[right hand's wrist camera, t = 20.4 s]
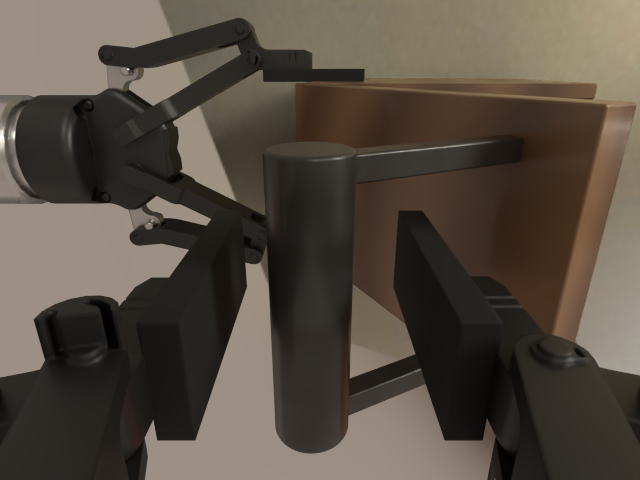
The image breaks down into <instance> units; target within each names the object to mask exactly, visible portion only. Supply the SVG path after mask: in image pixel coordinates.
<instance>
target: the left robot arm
mask: <svg viewBox="0 0 640 480" xmlns="http://www.w3.org/2000/svg"><path fill="white" fill-rule="evenodd" d="M234 45H238V47H239V50H240V52H241V55H239V56H238V57H236V58H234V59H233V60H231V61H229V62H228V63H226V64H224V65H223V66H221V67H219V68H218V69H216V70H214V71H213V72H211V73H209V74H208V75H206V76H204V77H203V78H201V79H199V80H198V81H196V82H194V83H193V84H191V85H189V86H188V87H186V88H184V89H183V90H181V91H179V92H178V93H176V94H174V95H173V96H171V97H169V98H167V99H165V100H163V101H161V102H159V103H158V104H156V105H154V106H152V105H151V104H149V103H148V102H146V101H145V100H143V99H142V98H140V97H139V96H137V95H136V94H135V93H133V92H132V91H130V90H129V85H130V83H131V82H132V81H134V80H138V79H140V78H141V77H142V76H143V72H144V70H143V68H154V67H159V66H163V65H167V64H170V63H174V62H177V61H181V60H184V59H188V58H191V57H195V56H198V55H202V54H205V53H209V52H213V51H216V50H220V49H223V48H227V47H230V46H234ZM98 56H99V59H100V60H101V62H102V63H104V64H105V65H107V76H108V89H107V90H105V91H103V92H102V93H100V94H98V95H40V96H36V97H31V96H28V95H0V203H18V204H20V203H21V204H42V203H46V202H50V203H113V204H116V205H119V206H121V207H123V208H125V209H129V212H130V216H131V220H132V223H133V227H134V231H133V232H132V233H131V234H130V240H131V242H132V243H133V244H135V245H139V246H140V245H151V244H161V243H162V244H166V245H171V246H175V247H180V248H184V249H188V250H189V249H190V248H191V247H192V245H193V244H194V243H195V241H196V240H197V238H198V237H199V236H200V234H201V233H202V232H203V230H204V229H205V227H206V226H205V225H200V224H196V223H191V222H188V221H183V220H178V219H171V218H163V215H162V214H161V213H158V212H153V211H151V210H149V209H148V208H147V205H146V204H147V203H148V202H149V201H150V200H152V199H153V198H154V197H156V196H158V197H160V198H162V199H165V200H167V201H169V202H171V203H173V204H181V205H183V206H185V207H188V208H190V209H192V210H194V211H196V212H198V213H200V214H202V215H204V216H206V217H208V218H210V219H212V218H213V216H214V215H215V214H216V212H217V211H218V210H242V224H243V234H244V235H243V239H244V253H245V262H246V263H250V264H258V263H259V262H260V261H261V259H262V256H263V254H264V251H265V248H266V245H267V234H266V216H264V215H262V214H260V213H258V212H256V211H254V210H252V209H250V208H248V207H246V206H244V205H242V204H240V203H238V202H236V201H234V200H232V199H230V198H228V197H226V196H224V195H222V194H220V193H218V192H216V191H214V190H211V189H209V188H207V187H205V186H203V185H201V184H199V183H197V182H196V181H195V180H194V179H193V178H192V177H190V176H188V175H186V174H184V173H182V172H180V170H182V162H181V157H180V155H179V152H178V149H177V145H178V138H179V136H178V128H177V127H175V126H174V124H173V121H174V120H176V119H178V118H179V117H181V116H183V115H185V114H186V113H187V112H189V111H191V110H192V109H194V108H196V107H197V106H199V105H201V104H202V103H204V102H206V101H208V100H209V99H211V98H213V97H214V96H216V95H218V94H219V93H221V92H223V91H225V90H226V89H228V88H230V87H231V86H233V85H235V84H236V83H238V82H240V81H242V80H243V79H245V78H247V77H248V76H250V75H252V74H253V73H255V72H257V71H259V70H263V80H264V82H310V81H364V70H365V69H312V53H310V52H308V51H306V50H266V49H264V48H262V47H261V45H260V44H259V41H258V39H257V36H256V34H255V29H254V27H253V25H252V24H250V23H249V22H248V21H246V20H245V19H242V18H236V19H233V20H229V21H226V22H222V23H219V24H215V25H212V26H208V27H205V28H201V29H198V30H195V31H191V32H188V33H184V34H181V35H177V36H174V37H170V38H167V39H163V40H160V41H156V42H153V43H150V44H146V45H143V46H139V47H136V48H129V47H119V46H110V45H104V46H102V47H100V49H99V51H98Z"/></svg>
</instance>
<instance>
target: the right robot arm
mask: <svg viewBox="0 0 640 480" xmlns="http://www.w3.org/2000/svg"><path fill="white" fill-rule="evenodd" d="M246 288H247V282H246V267H245V253H244V239H243V224H242V210H218V211H217V212H216V214H215V215H214V216H213V218H212V219H211V221H210V222H209V223H208V225H207V226H206V227H205V229H204V230H203V232H202V233H201V234H200V236H199V237H198V238H197V240H196V241H195V243H194V244H193V245H192V247H191V248H190V249H189V251H188V252H187V254H186V255H185V256H184V258H183V259H182V261H181V262H180V263H179V265H178V266H177V267H176V269H175V270H174V272H173V273H172V274H171V276H170V277H169V278H150V279H148V280H147V281H145V282H143V283H142V284H140V285H138V286H136V287H135V288H134V290H133V291H132V292H131V293H130V294H129V295H128V297H127V298H126V300H124V301H123V302H122V304H121V305H120V306H118V302H116V301H115V300H114V299H112V298H110V297H105V296H84V297H78V298H73V299H69V300H66V301H63V302H60V303H58V304H55V305H53V306H51V307H49V308H47V309H46V310H44V311H42V312H41V313H40V314H39V315H38V316H37V317H36V318H35V319H34V322H35V326H36V329H37V333H38V336H39V340H40V343H41V347H42V351H43V354H44V358H45V362H44V364H43V366H42V367H41V369H40V370H36V371H32V372H27V373H22V374H17V375H12V376H7V377H1V378H0V480H145V473H146V465H147V458H148V456H147V448H146V443H145V436H146V433H147V431H148V429H149V427H150V425H151V423H152V421H153V419H154V425H155V430H156V436H157V440H196V437H197V434H198V431H199V428H200V425H201V422H202V419H203V416H204V413H205V410H206V407H207V404H208V401H209V398H210V395H211V392H212V389H213V386H214V383H215V380H216V377H217V374H218V371H219V368H220V365H221V362H222V359H223V356H224V353H225V350H226V347H227V344H228V341H229V338H230V335H231V332H232V329H233V326H234V323H235V320H236V318H237V315H238V312H239V309H240V306H241V303H242V300H243V297H244V294H245V291H246ZM393 288H394V291H395V294H396V297H397V300H398V303H399V306H400V309H401V312H402V315H403V318H404V321H405V324H406V326H407V329H408V332H409V335H410V338H411V341H412V344H413V347H414V350H415V353H416V356H417V359H418V362H419V365H420V368H421V371H422V374H423V377H424V380H425V383H426V386H427V389H428V392H429V395H430V398H431V401H432V404H433V407H434V410H435V413H436V416H437V419H438V422H439V425H440V428H441V431H442V434H443V437H444V440H483V436H484V430H485V425H486V419H488V421H489V423H490V425H491V427H492V429H493V431H494V433H495V435H496V438H495V443H494V448H493V453H492V458H491V463H490V468H489V474H488V480H494V478H495V479H496V480H640V376H639V375H634V374H629V373H624V372H618V371H613V370H608V369H604V368H600V367H599V366H598V365H597V363H596V361H595V359H594V358H593V357H592V356H591V355H590V353H589V352H588V351H587V350H585V349H584V348H582V347H581V346H579V345H578V344H576V343H574V342H572V341H570V340H567V339H565V338H562V337H559V336H555V335H550V334H546V333H545V332H544V331H543V330H542V329H541V327H540V326H539V325H538V324H537V323H536V322H535V320H534V319H533V318H532V317H531V316H530V315H529V313H528V312H527V311H526V310H525V309H524V308H522V305H521V304H520V303H519V302H518V301H517V299H514V296H513V295H512V293H511V292H510V291H509V290H508V289H507V288H506V286H505V285H503V284H501V283H499V282H498V281H496V280H494V279H493V278H491V277H489V276H469V274H468V273H467V272H466V270H465V269H464V267H463V266H462V265H461V263H460V262H459V261H458V259H457V258H456V256H455V255H454V254H453V252H452V251H451V249H450V248H449V247H448V245H447V244H446V243H445V241H444V240H443V238H442V237H441V236H440V234H439V233H438V232H437V230H436V229H435V227H434V226H433V225H432V223H431V222H430V220H429V219H428V218H427V216H426V215H425V214H424V212H423V211H422V210H398V224H397V239H396V253H395V267H394V282H393Z"/></svg>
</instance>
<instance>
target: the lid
mask: <svg viewBox="0 0 640 480" xmlns="http://www.w3.org/2000/svg"><path fill="white" fill-rule="evenodd" d="M295 88H296V142H292V143H283V144H277V145H273V146H270V147H267V148H266V149H264V151H263V170H264V192H265V213H266V234H267V255H268V276H269V297H270V318H271V340H272V361H273V382H274V403H275V424H276V431H277V434H278V436H279V438H280V439H281V441H282V442H283V443H284V444H285V445H287V446H288V447H289V448H291V449H293V450H295V451H298V452H302V453H320V452H324V451H327V450H329V449H331V448H333V447H335V446H336V445H337V444H339V443H340V442H341V440H342V439H343V438H344V436H345V434H346V432H347V428H348V415H351V414H353V413H355V412H358V411H360V410H363V409H365V408H368V407H370V406H372V405H375V404H378V403H380V402H382V401H385V400H387V399H389V398H392V397H395V396H397V395H399V394H402V393H404V392H407V391H409V390H412V389H414V388H416V387H419V386H421V385H424V384H426V383H425V380H424V377H423V374H422V371H421V368H420V365H419V362H418V359H417V356H416V354H415V355H413V356H410V357H407V358H405V359H402V360H399V361H396V362H394V363H391V364H388V365H385V366H383V367H380V368H377V369H375V370H372V371H369V372H366V373H364V374H361V375H358V376H356V377H353V378H350V379H349V377H350V347H351V317H352V286H353V284H354V285H355V286H357V287H358V288H359V289H361V290H362V291H363V292H365V293H366V294H367V295H368V296H370V297H371V298H372V299H374V300H375V301H376V302H378V303H379V304H380V305H382V306H383V307H384V308H385V309H387V310H388V311H389V312H391V313H392V314H393V315H395V316H396V317H397V318H399V319H400V320H401V321H402V322H404V323H405V321H404V318H403V315H402V312H401V309H400V306H399V303H398V300H397V297H396V294H395V291H394V288H393V282H394V267H395V253H396V239H397V224H398V210H422V211H423V212H424V214H425V215H426V216H427V218H428V219H429V220H430V222H431V223H432V225H433V226H434V227H435V229H436V230H437V232H438V233H439V234H440V236H441V237H442V238H443V240H444V241H445V243H446V244H447V245H448V247H449V248H450V249H451V251H452V252H453V254H454V255H455V256H456V258H457V259H458V261H459V262H460V263H461V265H462V266H463V267H464V269H465V270H466V272H467V273H468V274H469V276H489V277H491V278H493V279H494V280H496V281H498V282H499V283H501V284H503V285H505V286H506V288H507V289H508V290H509V291H510V292H511V293H512V295H513V296H514V299H517V301H518V302H519V303H520V304H521V305H522V308H524V309H525V310H526V311H527V312H528V313H529V315H530V316H531V317H532V318H533V319H534V320H535V322H536V323H537V324H538V325H539V326H540V327H541V329H542V330H543V331H544V332H545V333H546V334H550V335H555V336H559V337H562V338H565V339H567V340H570V341H572V342H574V343H575V340H576V336H577V332H578V328H579V324H580V320H581V317H582V313H583V309H584V305H585V301H586V297H587V293H588V290H589V286H590V282H591V278H592V274H593V270H594V267H595V263H596V259H597V255H598V251H599V247H600V243H601V240H602V236H603V232H604V228H605V224H606V220H607V217H608V213H609V209H610V205H611V201H612V197H613V193H614V190H615V186H616V182H617V178H618V174H619V170H620V167H621V163H622V159H623V155H624V151H625V147H626V143H627V140H628V136H629V132H630V128H631V124H632V120H633V116H634V113H635V109H636V103H634V102H621V101H605V100H588V99H572V98H555V97H538V96H522V95H505V94H488V93H472V92H455V91H439V90H422V89H405V88H389V87H372V86H355V85H339V84H322V83H296V85H295Z"/></svg>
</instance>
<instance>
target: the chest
mask: <svg viewBox="0 0 640 480" xmlns="http://www.w3.org/2000/svg"><path fill="white" fill-rule="evenodd" d="M308 83H322V84H339V85H355V86H372V87H389V88H405V89H422V90H439V91H455V92H472V93H488V94H505V95H522V96H538V97H555V98H572V99H588V100H593V98H594V97H595V93H596V88H597V84H596V83H578V82H560V81H543V80H525V79H364V81H310V82H308Z"/></svg>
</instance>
